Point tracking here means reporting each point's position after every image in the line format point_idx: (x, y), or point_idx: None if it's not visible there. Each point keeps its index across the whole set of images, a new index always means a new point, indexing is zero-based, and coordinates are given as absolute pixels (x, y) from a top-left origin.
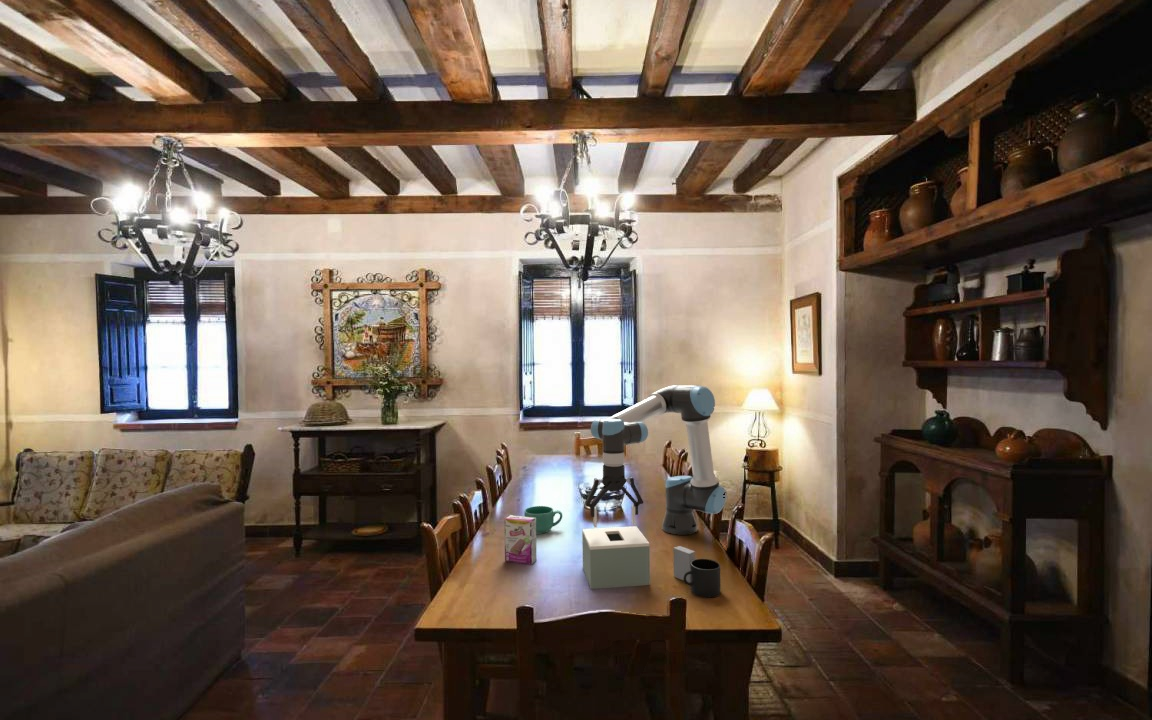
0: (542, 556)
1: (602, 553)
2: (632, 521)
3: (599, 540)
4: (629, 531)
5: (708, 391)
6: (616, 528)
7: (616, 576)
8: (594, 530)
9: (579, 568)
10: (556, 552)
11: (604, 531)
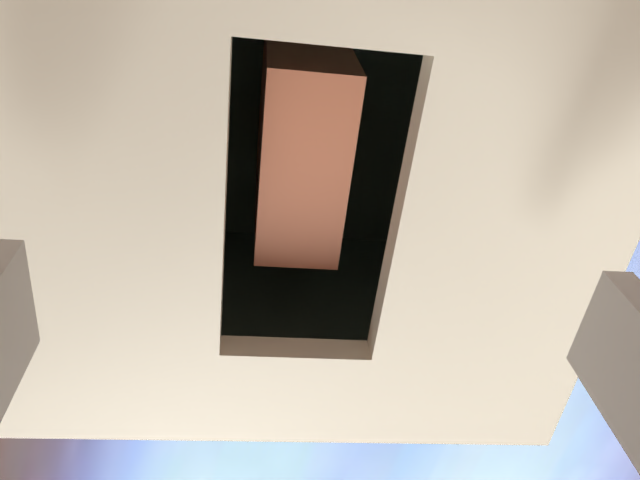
0: (590, 418)
1: None
2: (16, 316)
3: (550, 116)
4: (97, 319)
5: None
6: (222, 414)
7: None
8: (457, 402)
9: None
10: (503, 448)
11: (372, 364)
